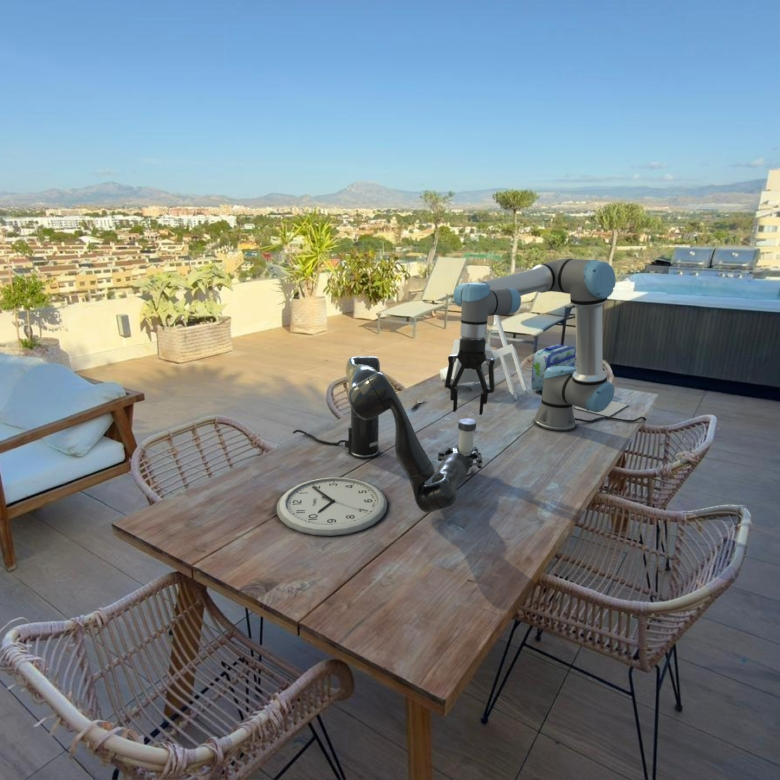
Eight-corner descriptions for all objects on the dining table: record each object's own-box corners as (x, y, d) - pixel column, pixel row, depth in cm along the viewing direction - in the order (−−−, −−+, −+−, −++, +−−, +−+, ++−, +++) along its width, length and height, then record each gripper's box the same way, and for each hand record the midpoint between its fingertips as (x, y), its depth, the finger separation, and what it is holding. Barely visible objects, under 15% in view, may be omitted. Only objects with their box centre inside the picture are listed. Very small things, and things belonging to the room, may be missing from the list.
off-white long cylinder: (462, 467, 167) (465, 419, 162) (473, 471, 164) (477, 422, 159) (454, 471, 164) (457, 422, 159) (465, 475, 161) (468, 426, 156)
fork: (408, 410, 217) (408, 406, 216) (419, 399, 231) (419, 395, 230) (414, 411, 216) (414, 407, 215) (425, 400, 230) (425, 396, 230)
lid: (465, 423, 163) (465, 416, 163) (479, 428, 160) (479, 421, 159) (454, 428, 160) (455, 421, 159) (469, 432, 156) (469, 425, 155)
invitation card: (608, 416, 214) (573, 407, 224) (608, 416, 214) (573, 408, 224) (628, 404, 229) (594, 396, 238) (628, 405, 229) (594, 397, 238)
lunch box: (547, 397, 237) (552, 352, 231) (526, 391, 245) (531, 348, 238) (574, 386, 255) (580, 344, 249) (554, 381, 262) (559, 340, 256)
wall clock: (392, 527, 129) (268, 531, 127) (391, 533, 130) (269, 537, 127) (383, 473, 158) (282, 475, 155) (383, 478, 158) (282, 480, 156)
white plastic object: (461, 429, 252) (437, 405, 227) (444, 352, 274) (420, 323, 250) (535, 404, 240) (518, 377, 215) (510, 326, 262) (492, 293, 237)
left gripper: (478, 462, 146) (491, 440, 161) (429, 454, 151) (446, 433, 166) (476, 487, 148) (489, 463, 163) (428, 477, 153) (445, 455, 168)
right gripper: (509, 337, 152) (502, 411, 159) (441, 332, 157) (437, 404, 164) (507, 342, 145) (500, 420, 152) (436, 337, 151) (432, 412, 157)
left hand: (467, 448), depth 164 cm, fingers closed on off-white long cylinder, 4 cm apart
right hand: (467, 411), depth 158 cm, fingers open, 7 cm apart
